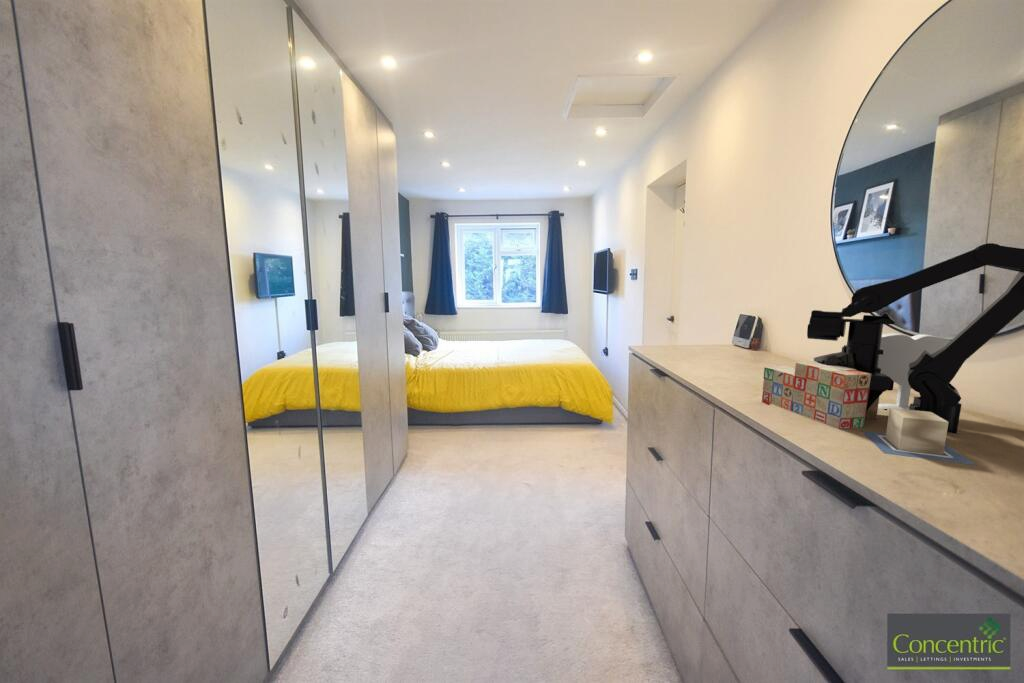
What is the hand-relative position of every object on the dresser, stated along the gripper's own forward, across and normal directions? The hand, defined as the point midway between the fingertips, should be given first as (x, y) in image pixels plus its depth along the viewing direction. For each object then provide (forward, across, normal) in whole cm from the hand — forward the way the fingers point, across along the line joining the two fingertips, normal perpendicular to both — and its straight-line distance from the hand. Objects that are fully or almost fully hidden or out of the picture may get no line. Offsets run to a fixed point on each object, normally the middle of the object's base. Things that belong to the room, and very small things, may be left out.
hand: (855, 410), depth 95 cm
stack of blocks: (+2, +3, -10) cm, 10 cm away
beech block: (+1, +19, +4) cm, 19 cm away
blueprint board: (+1, +19, +4) cm, 19 cm away
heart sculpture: (+1, -11, +12) cm, 17 cm away
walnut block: (+1, 0, 0) cm, 1 cm away
